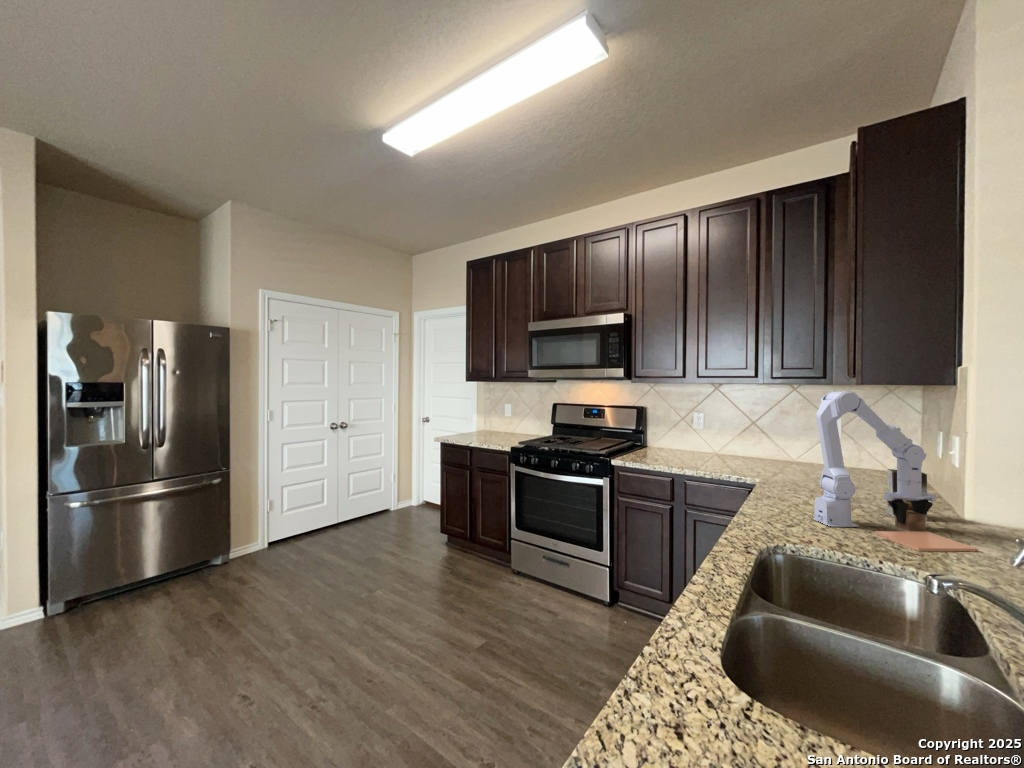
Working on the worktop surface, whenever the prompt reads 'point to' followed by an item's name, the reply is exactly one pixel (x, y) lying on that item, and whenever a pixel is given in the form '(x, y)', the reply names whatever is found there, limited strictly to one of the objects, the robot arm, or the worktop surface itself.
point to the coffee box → (893, 489)
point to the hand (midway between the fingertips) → (909, 522)
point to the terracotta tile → (925, 541)
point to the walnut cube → (913, 521)
